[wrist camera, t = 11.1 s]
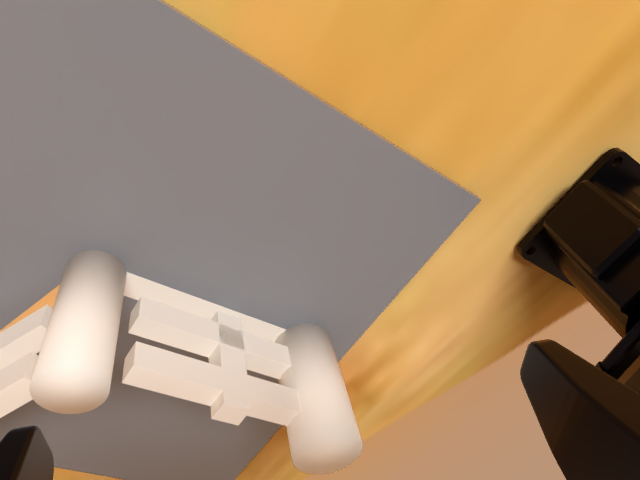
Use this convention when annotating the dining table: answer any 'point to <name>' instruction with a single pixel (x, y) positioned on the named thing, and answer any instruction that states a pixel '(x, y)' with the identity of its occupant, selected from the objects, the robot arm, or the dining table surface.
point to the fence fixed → (194, 364)
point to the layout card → (191, 211)
